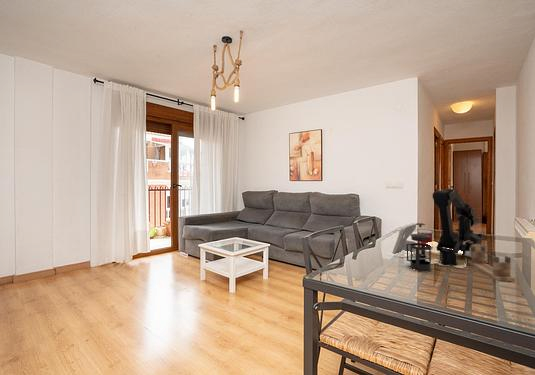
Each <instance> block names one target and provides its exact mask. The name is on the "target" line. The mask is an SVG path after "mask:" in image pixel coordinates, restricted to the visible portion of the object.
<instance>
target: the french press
mask: <svg viewBox="0 0 535 375" xmlns="http://www.w3.org/2000/svg"><path fill="white" fill-rule="evenodd" d="M415 224H416V226H418V227H419V230H420V234H418V233H412V234H411V235H410V236H409V237H411V241H413V242H415V243H412V244H409V243H408V244H407V245H406V246H407V257H406V261H407V262H410V266H409V268H410V267H411V268H412V269H411V268H410V269H411V270H413V269H415V270H414V271H416V270H418V271H417V272H422V271H428V272H431V271H432V264H431V263H432V262H431V260H432V254H431V253H432V249H431V246H430V245H428V244H424V243H421V242H424V241H426V240H427V239H429V238H430V237H431V236H430V235H426V234H421V230H422V229H421V228H422V226H425V223H423V222H417V223H415ZM418 241H420V243H418ZM408 245H410V247H411V255H410V259H409V256H408ZM415 246H416V247H415ZM418 246H420V247H418ZM425 246H426V247H425ZM412 248H413V249H416V253H414V254H412ZM426 251H428V254H426ZM428 260H429V261H428ZM430 270H431V271H430Z"/></svg>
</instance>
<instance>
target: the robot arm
mask: <svg viewBox="0 0 535 375" xmlns="http://www.w3.org/2000/svg"><path fill="white" fill-rule="evenodd" d="M431 196H432V197H431V198H432V200H433V202H434V204H435V205H436V206H437V208H438V212H439V218H440V219H439V220H440V226H441V232H442V233H441V235H440V236H439V241H438V243H437V245H436V251H437V252H439V260H440V261H441V263H440V264H442V265H443V266H457V265H458V264H457V254H458V251H459V250H461V251H463V254H462V255H463V256H465V255H464V252H465V249H466V250H471V246H474V245H478V244H481V243H482V241H484V240H485V238H484V234H483V233H474V230H473V229H472V227H475V226H477V225H478V224H479V219H478V218H477V215H476V213H475V209H474V208H473V207H472V206H471V205H470V204H469V203H466V202H465V201H464V199H462V197H461V195H460V194H459V193H458V190H457V189H455V188H447V189H442V190H435V191H434V192H433V193H432V195H431ZM451 205H453V207H455V209H454V212H455V214H456V215H457V216H458V217H457V219H456V221H458V222H457V223H458V224H457V225H458V226H457V228H456V230H455V231H456V232H458V233H455V232H454V228H453V219H452V215H451V214H452V213H451ZM447 248H449V249H447ZM452 249H453V250H452ZM462 255H461V256H462ZM463 256H462V257H463Z"/></svg>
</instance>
